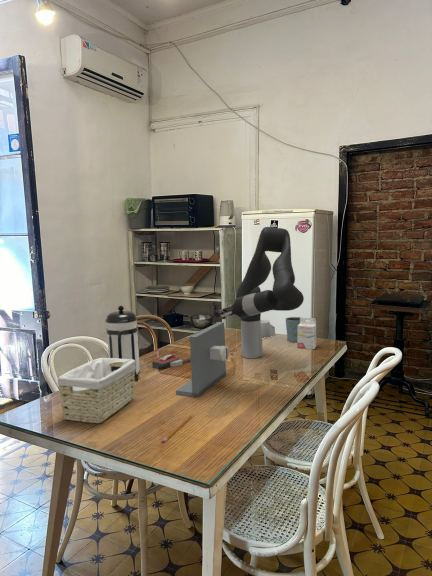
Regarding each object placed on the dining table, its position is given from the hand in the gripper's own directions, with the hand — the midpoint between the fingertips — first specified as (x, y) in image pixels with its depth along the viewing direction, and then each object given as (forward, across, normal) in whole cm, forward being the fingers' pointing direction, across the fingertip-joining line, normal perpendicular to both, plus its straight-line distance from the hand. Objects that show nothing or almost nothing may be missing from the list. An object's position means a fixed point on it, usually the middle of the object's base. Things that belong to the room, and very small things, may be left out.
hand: (215, 314), depth 161 cm
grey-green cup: (+18, -68, +38) cm, 80 cm away
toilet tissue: (+37, -68, +32) cm, 83 cm away
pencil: (-7, +41, +23) cm, 48 cm away
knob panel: (+11, +8, +24) cm, 28 cm away
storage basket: (+23, +45, +13) cm, 52 cm away
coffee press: (+42, +20, +12) cm, 48 cm away
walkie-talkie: (+40, -4, +18) cm, 45 cm away
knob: (+3, +4, +17) cm, 17 cm away
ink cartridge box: (+7, -58, +40) cm, 71 cm away
